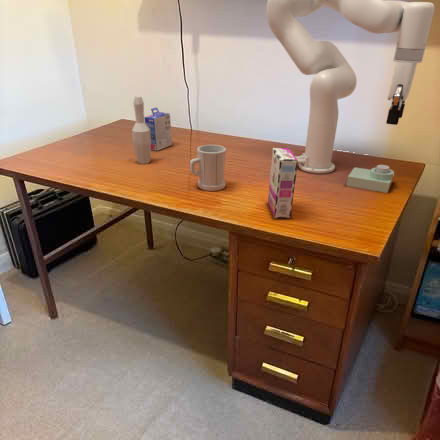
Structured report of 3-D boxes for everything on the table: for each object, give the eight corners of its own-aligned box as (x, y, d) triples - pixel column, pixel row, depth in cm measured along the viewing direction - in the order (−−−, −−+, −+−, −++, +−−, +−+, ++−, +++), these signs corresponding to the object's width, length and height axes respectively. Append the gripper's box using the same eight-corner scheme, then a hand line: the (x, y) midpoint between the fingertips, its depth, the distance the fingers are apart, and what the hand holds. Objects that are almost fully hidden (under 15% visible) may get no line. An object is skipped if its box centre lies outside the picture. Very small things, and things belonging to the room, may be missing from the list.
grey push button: (374, 172, 138) (375, 167, 137) (376, 169, 141) (377, 163, 140) (387, 175, 137) (388, 169, 136) (389, 171, 140) (390, 165, 139)
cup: (213, 195, 134) (213, 156, 127) (188, 189, 138) (187, 151, 131) (230, 184, 141) (231, 147, 134) (207, 179, 145) (206, 142, 138)
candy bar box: (292, 218, 120) (298, 159, 111) (274, 219, 120) (279, 160, 111) (283, 202, 130) (289, 147, 120) (267, 203, 129) (271, 147, 120)
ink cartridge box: (162, 143, 179) (159, 105, 171) (172, 145, 176) (170, 107, 168) (146, 148, 172) (143, 110, 164) (157, 151, 170) (154, 111, 161)
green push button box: (346, 185, 141) (348, 170, 139) (352, 176, 149) (355, 161, 146) (387, 193, 137) (391, 177, 134) (392, 182, 144) (395, 168, 141)
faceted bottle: (135, 164, 156) (128, 98, 143) (134, 159, 161) (128, 95, 149) (153, 163, 157) (148, 98, 145) (151, 158, 162) (146, 94, 150)
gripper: (398, 51, 128) (385, 113, 138) (390, 58, 115) (376, 125, 125) (425, 53, 126) (410, 116, 135) (420, 59, 113) (403, 128, 123)
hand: (394, 120), depth 130 cm, fingers open, 9 cm apart
